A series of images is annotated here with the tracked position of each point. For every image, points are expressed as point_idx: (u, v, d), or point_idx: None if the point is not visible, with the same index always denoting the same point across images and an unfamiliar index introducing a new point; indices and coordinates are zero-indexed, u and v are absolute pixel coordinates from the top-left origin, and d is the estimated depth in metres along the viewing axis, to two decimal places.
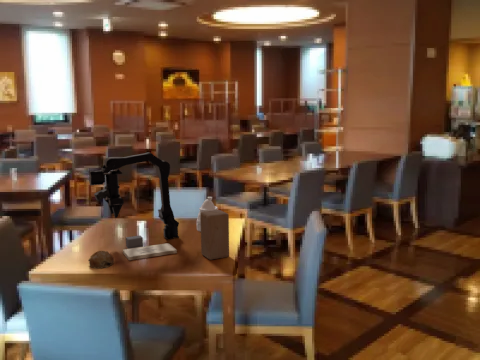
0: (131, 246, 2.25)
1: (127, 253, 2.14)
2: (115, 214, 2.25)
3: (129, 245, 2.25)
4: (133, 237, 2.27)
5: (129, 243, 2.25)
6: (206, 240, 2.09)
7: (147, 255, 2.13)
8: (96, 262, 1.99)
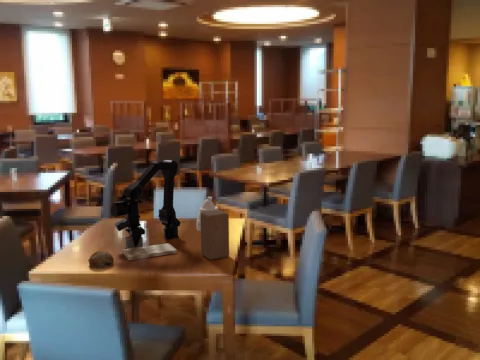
0: (131, 246, 2.25)
1: (127, 253, 2.14)
2: (135, 243, 2.25)
3: (129, 245, 2.25)
4: None
5: (129, 243, 2.25)
6: (206, 240, 2.09)
7: (147, 255, 2.13)
8: (95, 262, 1.99)
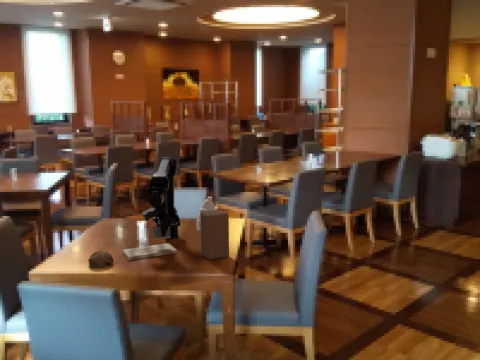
0: (158, 236, 2.18)
1: (127, 253, 2.14)
2: (162, 233, 2.18)
3: (156, 235, 2.17)
4: None
5: (156, 233, 2.17)
6: (206, 240, 2.09)
7: (147, 255, 2.13)
8: (95, 262, 1.99)
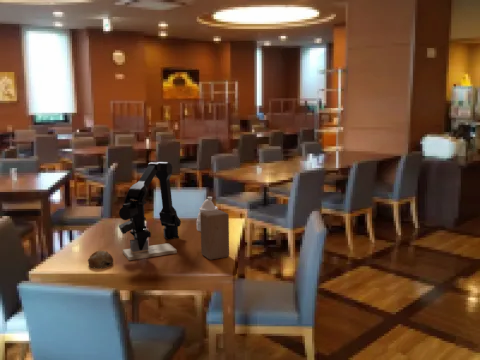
0: (136, 249, 2.14)
1: (127, 253, 2.14)
2: (140, 246, 2.14)
3: (134, 248, 2.13)
4: None
5: (134, 246, 2.13)
6: (206, 240, 2.09)
7: (147, 255, 2.13)
8: (95, 262, 1.99)
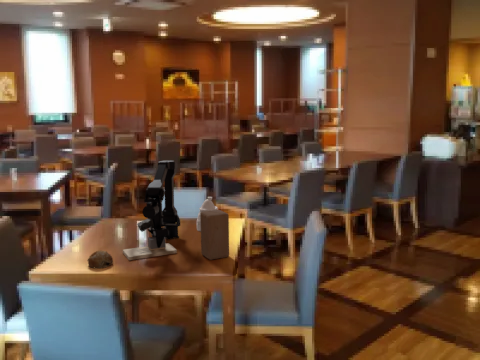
0: (153, 247, 2.18)
1: (127, 253, 2.14)
2: (158, 244, 2.17)
3: (151, 245, 2.17)
4: (155, 237, 2.20)
5: (151, 243, 2.17)
6: (206, 240, 2.09)
7: (147, 255, 2.13)
8: (94, 262, 1.99)
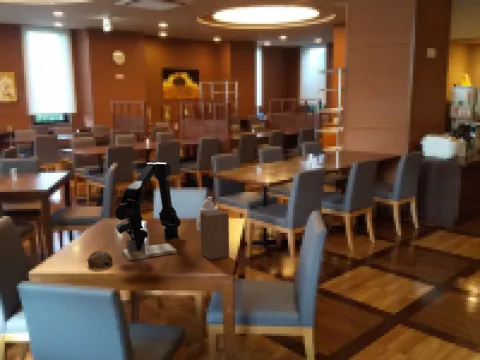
0: (132, 250, 2.13)
1: (127, 253, 2.14)
2: (138, 247, 2.12)
3: (130, 249, 2.13)
4: (134, 241, 2.16)
5: (130, 247, 2.13)
6: (206, 240, 2.09)
7: (147, 255, 2.13)
8: (94, 262, 1.99)
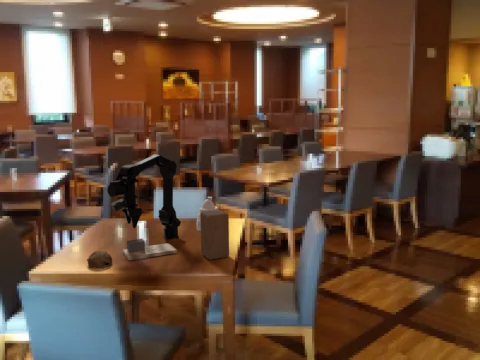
0: (132, 250, 2.13)
1: (127, 253, 2.14)
2: (133, 224, 2.17)
3: (130, 249, 2.13)
4: (134, 241, 2.16)
5: (130, 247, 2.13)
6: (206, 240, 2.09)
7: (147, 255, 2.13)
8: (94, 262, 1.99)
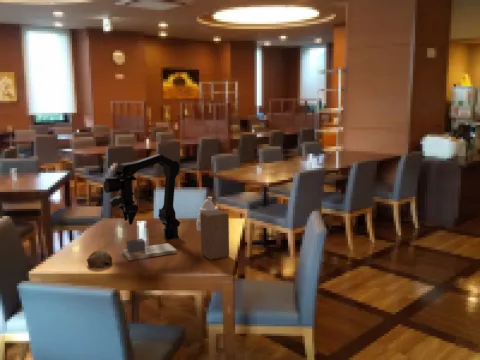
0: (132, 250, 2.13)
1: (127, 253, 2.14)
2: (130, 221, 2.22)
3: (130, 249, 2.13)
4: (134, 241, 2.16)
5: (130, 247, 2.13)
6: (206, 240, 2.09)
7: (147, 255, 2.13)
8: (94, 262, 1.99)
